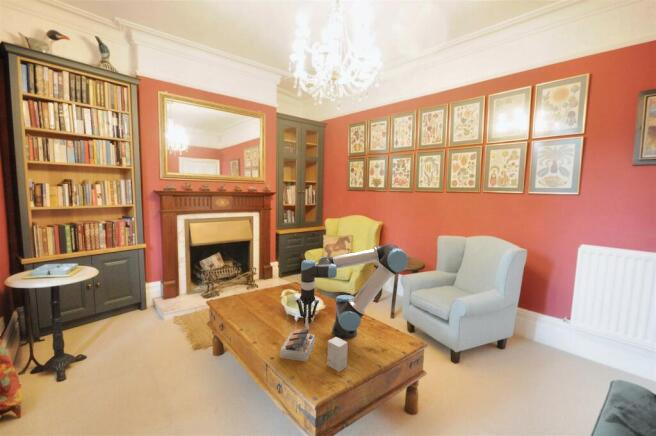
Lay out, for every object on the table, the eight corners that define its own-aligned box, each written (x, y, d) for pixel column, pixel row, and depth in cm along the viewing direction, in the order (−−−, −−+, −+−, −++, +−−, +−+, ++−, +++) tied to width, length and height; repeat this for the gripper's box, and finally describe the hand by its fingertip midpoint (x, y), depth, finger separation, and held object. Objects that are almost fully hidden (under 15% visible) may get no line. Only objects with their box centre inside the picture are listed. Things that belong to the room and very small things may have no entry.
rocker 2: (307, 337, 160) (306, 333, 160) (305, 341, 156) (304, 337, 156) (292, 339, 162) (291, 335, 162) (289, 342, 158) (288, 338, 158)
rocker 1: (310, 331, 166) (309, 328, 166) (308, 335, 162) (307, 331, 162) (295, 333, 168) (294, 329, 167) (293, 337, 164) (292, 333, 164)
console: (314, 343, 167) (314, 334, 166) (306, 361, 149) (306, 351, 149) (291, 340, 170) (291, 331, 169) (280, 358, 152) (280, 348, 151)
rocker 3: (304, 341, 154) (302, 337, 154) (302, 345, 150) (300, 341, 150) (289, 346, 156) (287, 342, 156) (286, 350, 152) (285, 346, 152)
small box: (347, 366, 146) (348, 342, 144) (339, 372, 141) (339, 347, 140) (335, 359, 151) (335, 336, 150) (326, 365, 147) (327, 340, 145)
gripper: (320, 286, 163) (319, 326, 166) (298, 284, 166) (298, 324, 169) (317, 291, 156) (316, 333, 159) (294, 289, 159) (294, 330, 161)
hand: (307, 328), depth 164 cm, fingers closed
